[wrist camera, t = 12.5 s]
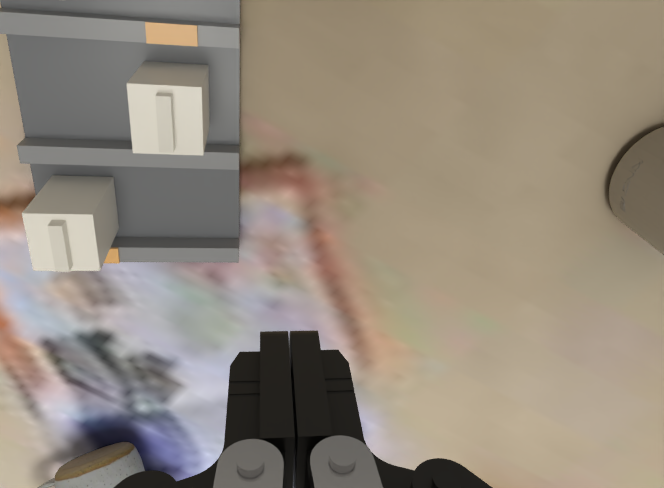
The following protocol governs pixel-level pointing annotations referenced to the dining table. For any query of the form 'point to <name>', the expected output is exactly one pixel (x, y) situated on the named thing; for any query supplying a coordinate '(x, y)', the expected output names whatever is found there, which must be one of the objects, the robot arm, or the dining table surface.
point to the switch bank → (114, 122)
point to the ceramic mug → (99, 468)
